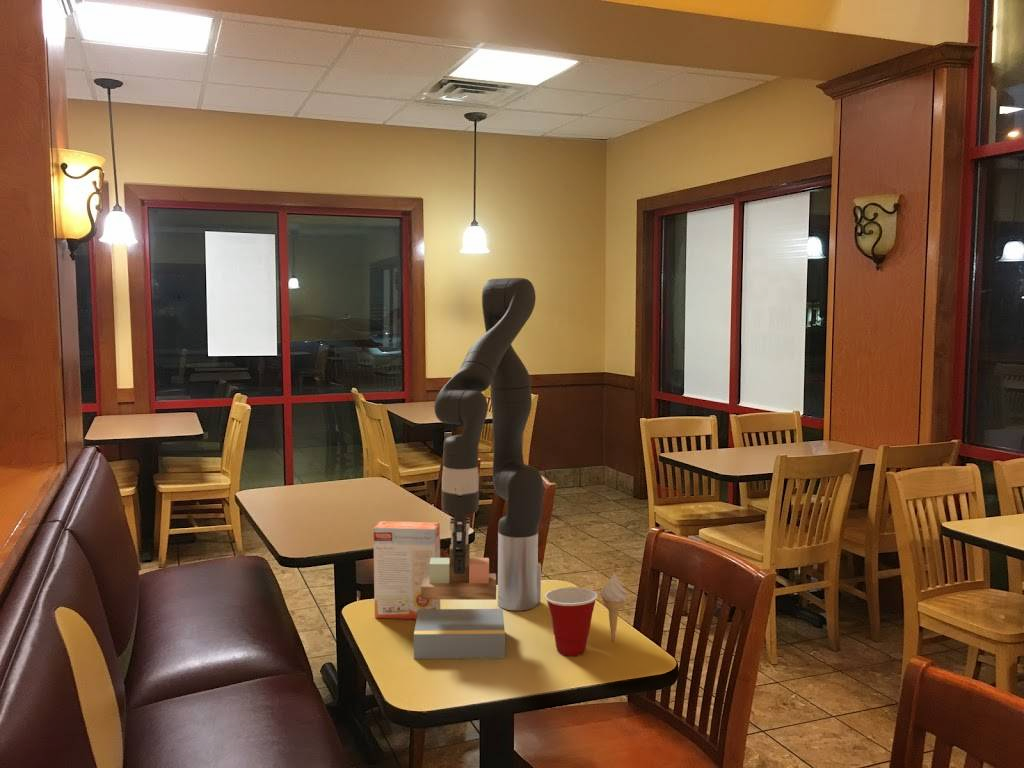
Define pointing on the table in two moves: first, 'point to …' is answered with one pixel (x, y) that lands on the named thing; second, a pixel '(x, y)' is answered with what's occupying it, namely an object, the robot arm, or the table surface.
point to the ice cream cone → (613, 601)
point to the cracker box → (403, 567)
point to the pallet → (459, 584)
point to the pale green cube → (439, 570)
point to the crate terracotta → (479, 570)
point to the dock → (459, 634)
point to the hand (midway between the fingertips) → (459, 570)
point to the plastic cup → (571, 617)
